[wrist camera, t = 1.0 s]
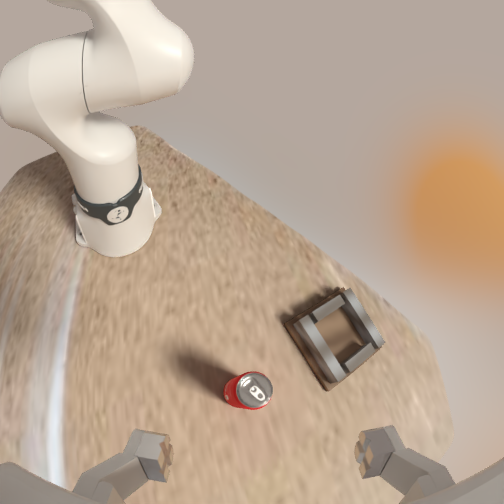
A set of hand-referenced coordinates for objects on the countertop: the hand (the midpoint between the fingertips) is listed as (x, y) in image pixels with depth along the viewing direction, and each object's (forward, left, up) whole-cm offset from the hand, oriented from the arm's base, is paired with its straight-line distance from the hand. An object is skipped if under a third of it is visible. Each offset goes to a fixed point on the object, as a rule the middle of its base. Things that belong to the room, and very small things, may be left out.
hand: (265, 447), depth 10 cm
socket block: (+1, +27, -36) cm, 45 cm away
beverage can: (0, +6, -37) cm, 37 cm away
